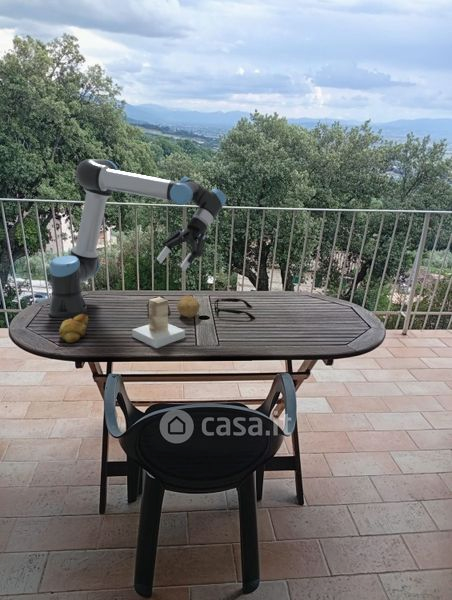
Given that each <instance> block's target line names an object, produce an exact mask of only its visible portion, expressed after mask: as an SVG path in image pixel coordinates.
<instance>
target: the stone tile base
mask: <svg viewBox="0 0 452 600" xmlns="http://www.w3.org/2000/svg"><path fill="white" fill-rule="evenodd" d="M131 330H132V332H131V334H132V338H135V339H136V340H138V341H141V342H143V343H144V344H146V345H148V346H151V347H153V348H154V349H159V348H161V347H163V346H166V345H169V344H171V343H174V342H177V341H179V340H182V339H185V338H186V330H185V329H183V328H180V327H177V326H175V325H173V324H171V323H168V330H167V331H164V332H161V333H155V332H153V331H151V330H149V323H148V324H146V325H143V326H139V327H135V328H133V329H131Z"/></svg>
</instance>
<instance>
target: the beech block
mask: <svg viewBox="0 0 452 600" xmlns="http://www.w3.org/2000/svg"><path fill="white" fill-rule="evenodd" d="M156 297H157V296H156ZM152 298H153V299H152ZM152 298H151V299H148V301H149V312H148V324H149V330H151V331H153V332H155V333H161V332H164V331H167V330H168V324H169V314H168V305H169V299H166V298H165V297H164V298H165V299H164V298H161V297H160V296H159V297H157V298H154V297H152Z"/></svg>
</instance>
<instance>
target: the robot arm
mask: <svg viewBox="0 0 452 600" xmlns="http://www.w3.org/2000/svg"><path fill="white" fill-rule="evenodd" d="M75 177H76V180H77V182H78V183H79V184H80V185H81V186H82V188H83V190H84V192H85V197H84V203H83V209H82V214H81V219H80V223H79V229H78V234H77V238H76V244H75V246H73V247H71V250H70V255H62V256H57V257H55V258H53V259H52V260H51V261H50V263H49V274H50V282H51V293H52V296H51V301H50V304H49V307H48V308H49V315H50V316H52V317H55V318H61V319H62V318H64V319H65V318H66V319H67V318H68V319H70V318H74V317H76V316H78V315H80V314H86V313H87V312H88V307H87V304H86V301H85V298H84V296H83V295H82V283H83V282H85V281H88V280H90V279H92V278H93V277H94V276H95V275H96V274H98V272H99V270H100V269H101V268H100V267H101V263H100V260H99V252H98V251H97V247H98V243H99V237H100V234H101V229H102V224H103V220H104V216H105V215H104V213H105V209H106V205H107V202H108V201H107V200H108V199H109V198H111V197H112V196H113V192H114V191H115V192H120V193H126V194H132V195H137V196H141V197H142V196H143V197H147V198H153V199H158V200H161V201H162V200H163V201H168V202H172V203H174V204H176V205H186V204H188V203H193V205H195V206H196V207H198V208H197V210H196V211H195V213H194V214H193V215H192V217H191V218H190V220H189V221H188V223H187V226H186V228H185V229H183V228H182V227H179V228H178V230H177V231H175V232H174V233H172V234H171V235H170V236H169V237H168V238H166V239H165V240H163V242H162V245H163V246H164V247H163V248H162V249H161V250H160V253H159V254H158V256H157V258H156V260H157V261H158V262H159V264H162V263H163V261H164V260H165V259H166V258H167V256H168V255H169V253H170V252H171V249H172V248H173V249H174V247H177V246H178V245H180V244H181V243H190V245H191V247H190V249H191V251H190V252H189V253H188V254H187V256H186V257H185V258H184V260H183V261H182V263H181V264H180V265H179V267H180V269H182V271H184V272H185V271H186V270H187V269H188V268H189V266H190V264H192V263H193V262H194V260H195V258H197V257H199V258H201V257H202V256H203V253H204V251H203V250H204V248H205V247H204V246H205V242H206V240H207V236H206V234H205V233H206V232H207V231H208V228H209V227H210V226H211V224H213V223H212V222H213V221H214V220H215V219H216V217H217V216H218V214H219V213H220V212H221V211H222V209H223V208H224V206H225V204H226V202H227V196H226V194H225V193H224V192H223V191H222V190H220V189H217V188H212V189H211V190H208V189H206V188H205V187H203V186H202V185H200V184H199V183H198V182H196V181H195V180H193V179H191V178H189V177H188V176H183V177H182V178H181V179H180V180H179V181H175V180H171V179H170V180H169V179H166V178H165V179H164V178H160V177H159V178H158V177H154V176H149V175H142V174H137V173H133V172H127V171H123V170H122V171H121V170H119V168H118V166H117V165H116V164H115V163H114V162H113V161H111V160H110V159H109V160H108V159H105V158H95V159H93V158H88V159H84V160H82V161H80V162H79V164H77V167H76V170H75Z"/></svg>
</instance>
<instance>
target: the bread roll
mask: <svg viewBox="0 0 452 600" xmlns="http://www.w3.org/2000/svg"><path fill="white" fill-rule="evenodd" d="M88 323H89V317H88V315H87V314H86V313H84V314H80V315H78V316H76V317H72V318H68V319H65V320H63V321H62V323H61V324H60V326H59V327H60V328H59V329H58V332H59V336H60V338H61V339H63V340H64V341H65V342H66V343H75V342H78V341H79V340H80V339H81V338H83V337H84V336H85V335H86V333H87V327H88Z"/></svg>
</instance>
